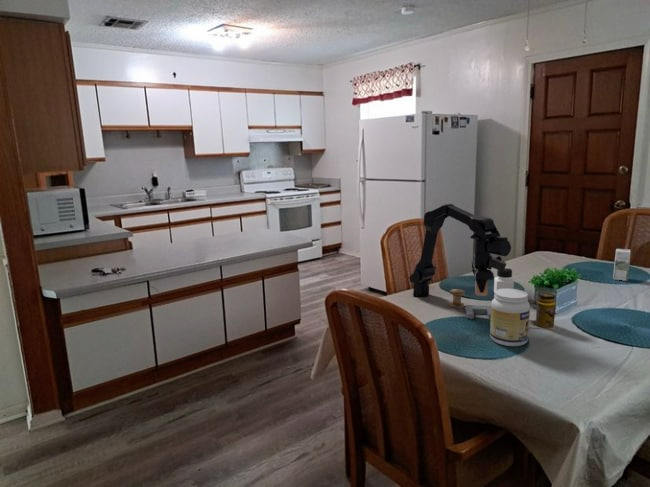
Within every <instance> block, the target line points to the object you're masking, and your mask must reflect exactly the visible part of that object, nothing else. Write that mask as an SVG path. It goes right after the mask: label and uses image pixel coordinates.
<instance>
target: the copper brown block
mask: <svg viewBox="0 0 650 487" xmlns="http://www.w3.org/2000/svg"><path fill="white" fill-rule="evenodd" d="M474 283H475V286H474V293H475V296H483V297H485V296H488V286H489V284H488V283H489V280H487V282H486V285H485V288H484V292H483V293H480V291H479V288H478V285H477V282H476V280H475V282H474Z"/></svg>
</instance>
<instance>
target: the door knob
mask: <svg viewBox="0 0 650 487" xmlns="http://www.w3.org/2000/svg"><path fill="white" fill-rule="evenodd" d="M465 293H466V291H465V290H463V289H460V288H452V289H449V294H450V295H452V301H451V302H449V303H448V304H449V307H450V308H452V309H463V308H464V309H465V303H464V302H462V296H464V295H465Z"/></svg>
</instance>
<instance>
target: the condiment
mask: <svg viewBox="0 0 650 487" xmlns="http://www.w3.org/2000/svg"><path fill="white" fill-rule="evenodd" d="M555 299H556V296H555V294H553V293H552V292H540V293H539V294H538V299H537V301H536V311H535V312H536V313H535V320H533V319H529V327H530V329H531V328H532V329H542V330H554V331H556V330H557V328H556V325H555V316H556V301H555Z"/></svg>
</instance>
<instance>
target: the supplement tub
mask: <svg viewBox="0 0 650 487" xmlns="http://www.w3.org/2000/svg"><path fill="white" fill-rule="evenodd" d="M528 295H529V294H528V293H527V292H526V291H525V290H521V289H518V288H514V289H510V288H504V289H498V290H496V291H495V293H494V295H493V298H492V300H491V305H490V306H491V320H490V329H489V330H490V331H489V336H490V339H491V340H492V341H493V342H495V343H497V344H498V345H501V346H507V347H520V346H523V345H525V344H527V343H528V340H529V330H530V328H529V327H530V324H529V320H530V312H531V311H530V310H531V303H530V302H529V301H528V300H529V296H528Z"/></svg>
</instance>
